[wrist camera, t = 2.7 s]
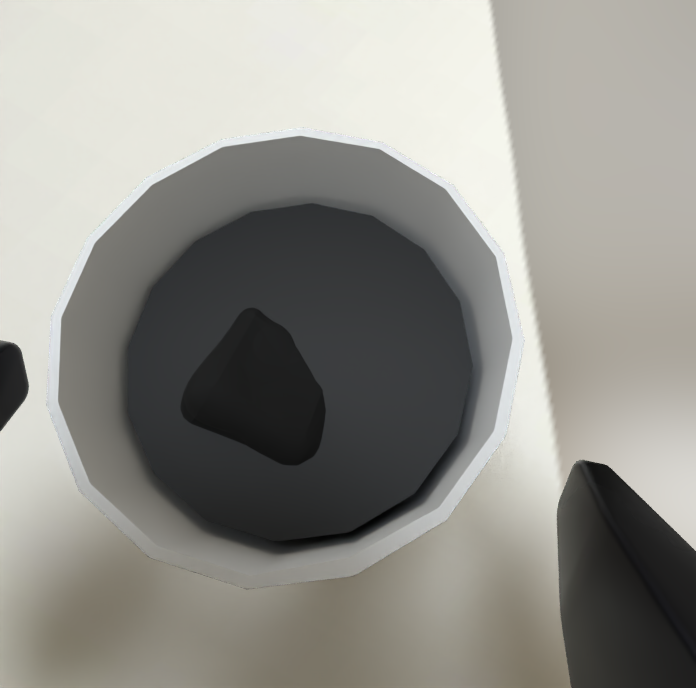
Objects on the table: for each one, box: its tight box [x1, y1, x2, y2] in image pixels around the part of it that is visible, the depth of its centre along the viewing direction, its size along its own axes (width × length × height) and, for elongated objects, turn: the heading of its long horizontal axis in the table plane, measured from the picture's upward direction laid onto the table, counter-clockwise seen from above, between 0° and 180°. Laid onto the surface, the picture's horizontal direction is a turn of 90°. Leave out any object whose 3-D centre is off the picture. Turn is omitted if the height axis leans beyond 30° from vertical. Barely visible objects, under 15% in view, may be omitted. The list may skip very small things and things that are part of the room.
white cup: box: [46, 127, 525, 589], centre depth 12 cm, size 7×7×10 cm
